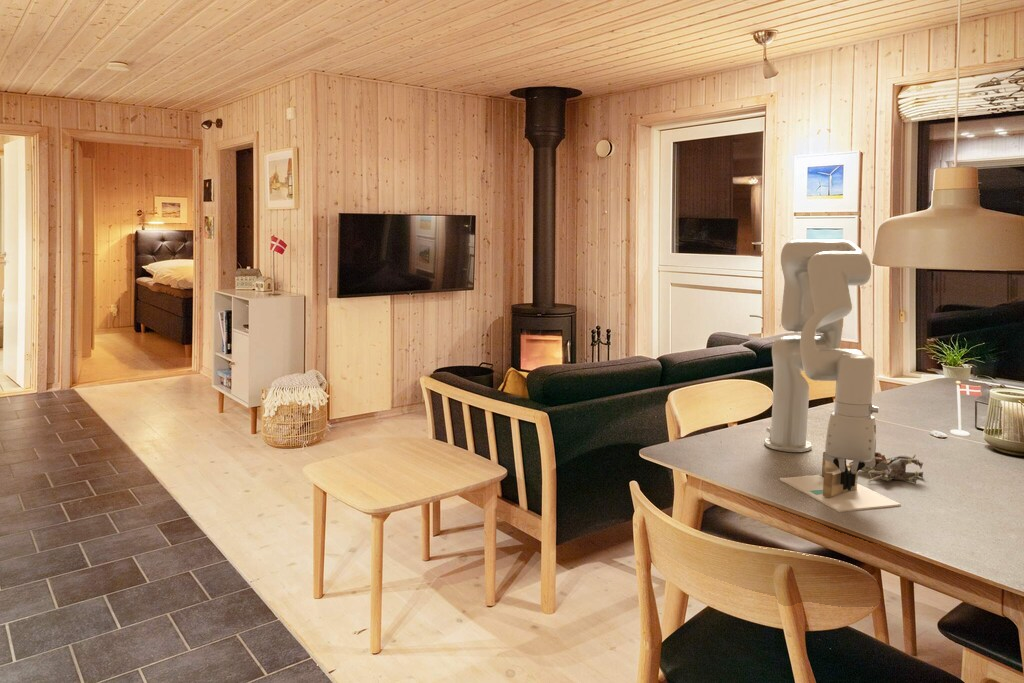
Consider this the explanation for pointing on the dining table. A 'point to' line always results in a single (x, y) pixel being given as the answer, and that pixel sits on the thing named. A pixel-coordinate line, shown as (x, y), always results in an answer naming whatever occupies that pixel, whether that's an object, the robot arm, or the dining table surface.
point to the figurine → (893, 468)
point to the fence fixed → (832, 467)
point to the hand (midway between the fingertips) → (847, 488)
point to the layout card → (840, 495)
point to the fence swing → (833, 483)
